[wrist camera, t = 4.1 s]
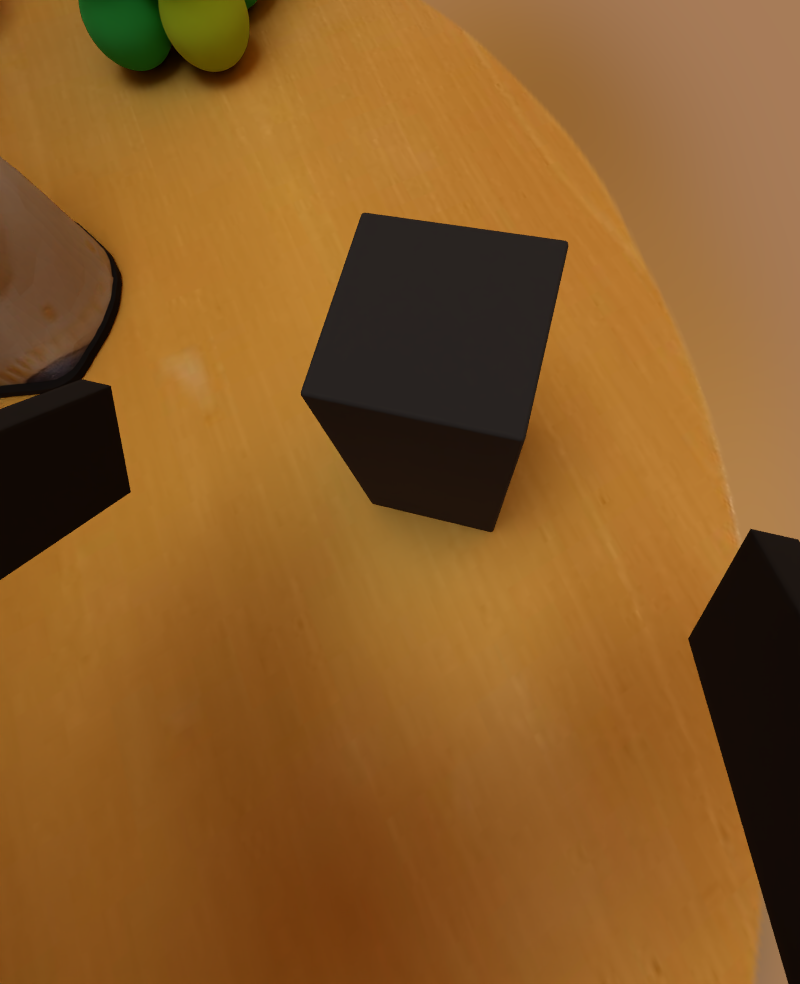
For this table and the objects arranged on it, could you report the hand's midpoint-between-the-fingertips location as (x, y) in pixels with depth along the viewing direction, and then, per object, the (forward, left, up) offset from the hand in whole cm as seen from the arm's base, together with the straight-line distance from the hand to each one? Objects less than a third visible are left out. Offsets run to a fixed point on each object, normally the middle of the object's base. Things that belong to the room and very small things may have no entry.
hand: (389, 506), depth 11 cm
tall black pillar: (-4, +1, -10) cm, 11 cm away
